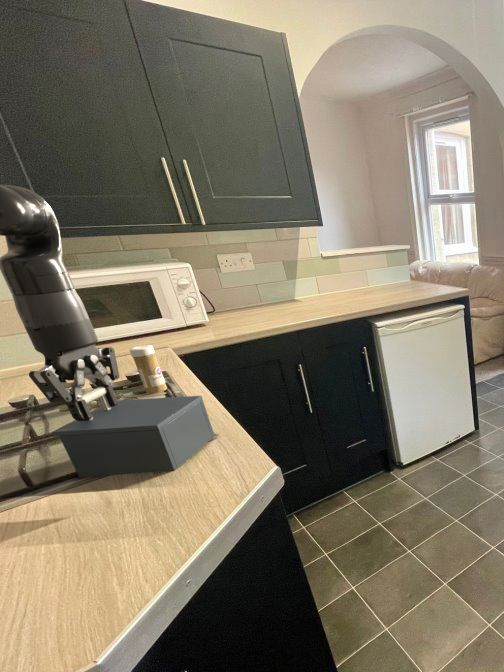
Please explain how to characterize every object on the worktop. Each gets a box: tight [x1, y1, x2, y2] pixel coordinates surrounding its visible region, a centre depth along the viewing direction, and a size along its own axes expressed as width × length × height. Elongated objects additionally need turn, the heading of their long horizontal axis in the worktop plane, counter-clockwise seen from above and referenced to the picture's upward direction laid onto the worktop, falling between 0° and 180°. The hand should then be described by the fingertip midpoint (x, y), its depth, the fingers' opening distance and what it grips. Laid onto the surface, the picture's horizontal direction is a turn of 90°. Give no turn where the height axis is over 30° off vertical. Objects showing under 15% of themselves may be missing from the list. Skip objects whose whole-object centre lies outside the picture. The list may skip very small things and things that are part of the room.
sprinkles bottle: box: [129, 344, 168, 395], centre depth 107 cm, size 5×5×14 cm
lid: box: [51, 387, 203, 437], centre depth 75 cm, size 16×13×5 cm
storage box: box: [58, 399, 216, 478], centre depth 77 cm, size 16×13×10 cm
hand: (97, 412), depth 75 cm, fingers closed on lid, 5 cm apart
